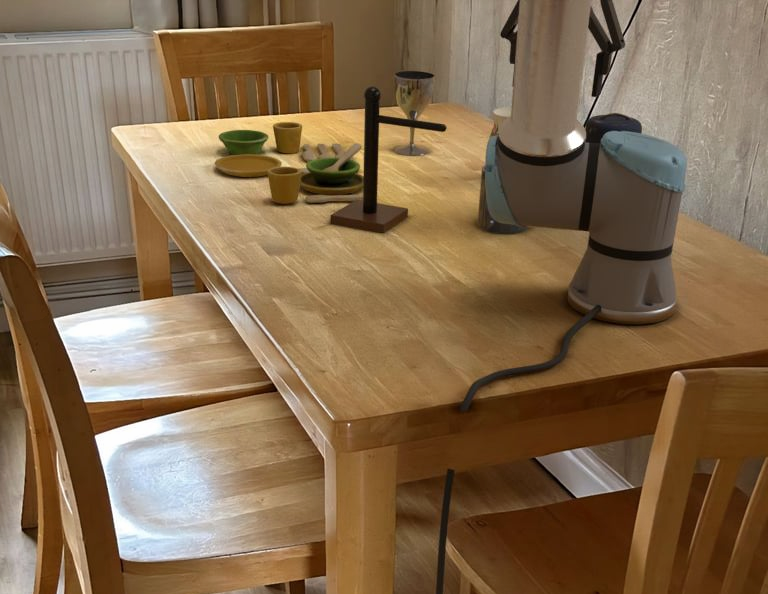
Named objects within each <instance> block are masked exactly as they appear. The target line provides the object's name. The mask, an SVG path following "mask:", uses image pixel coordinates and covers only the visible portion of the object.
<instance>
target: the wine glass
mask: <svg viewBox="0 0 768 594" xmlns="http://www.w3.org/2000/svg"><path fill="white" fill-rule="evenodd" d="M434 88H435V75H434V74H433V73H431V72H427V71H420V70H405V71H398V72H395V74H394V93H395V94H394V95H395V100H396V103H397V105H398V107H399V108H400V110H401V111H402V113H403V114H404V115H405V117H406V119H411V120H418V121H419V118H420V117H421V115H423V113H424V112H425V111H426V110H427V109H428V107H429V106H430V104H431V103H432V102H431V101H432V99H433V94H434ZM415 130H416V128H411V127H409V144H408V145H404V146H399V147H396V148H394V150H393V151H394V153H397V154H399V155H403V156H412V157H414V156H415V157H416V156H423V155H427V154H429V150H428V149H427V148H425V147H422V146H417V145H415Z"/></svg>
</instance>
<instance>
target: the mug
mask: <svg viewBox="0 0 768 594" xmlns="http://www.w3.org/2000/svg"><path fill="white" fill-rule="evenodd" d="M485 173H486V164H484V165H483V166H481V171H480V183H479V185H480V186H479V198H478V209H477V227H479V229H481V230H483V231H486V232H490V233H496V234H505V235H507V234H508V235H510V234H519V233H523V232H524V231H526V230H527V229H528V227H529V226H524V227H518V226H516V225H512V224H504V223H499V222H497V221H495V220H494V219H493V218H492V217H491V215H490V213H489V210H488V206H487V199H486V187H485Z"/></svg>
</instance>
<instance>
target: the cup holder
mask: <svg viewBox="0 0 768 594" xmlns="http://www.w3.org/2000/svg"><path fill="white" fill-rule="evenodd" d="M363 99H364V125H363V127H364V129H363V130H364V131H363V133H364V134H363V175H362V176H363V186H362V195H363V201H362V200H355V201H351V202H350V203H348V204H346V205H345V206H342V207H341V208H339V209H338V210H336V211H335V212H333V213H331V214H330V224H331V225H337V226H342V227H349V228H354V229H357V230H364V231H370V232H375V233H381V234H385V233H386V232H387V231H389V230H391V229H392V228H394V227H395V226H396V225H398V224H399V223H401V222H403V221H404V220H406V219H407V218H408V217H409V208H408V207H403V206H396V205H391V204H385V203H379V202H378V186H379V185H378V183H379V181H378V180H379V145H380V124H384V125H391V126H398V127H405V128H410V127H411V128H415V129H419V130H426V131H432V132H439V133H444V132H446V131H447V125H446V124H444V123H439V122H432V121H424V120H419V119H418V120H411V119H408V118H403V117H397V116H389V115H382V114H380V111H381V109H380V108H381V106H380V105H381V99H382V92H381V90H380V89H379V88H378V86H377V87H376V86H375V85H374V86H373V85H371V86H368V87H367V88H366V89H365V90H364V92H363Z"/></svg>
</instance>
